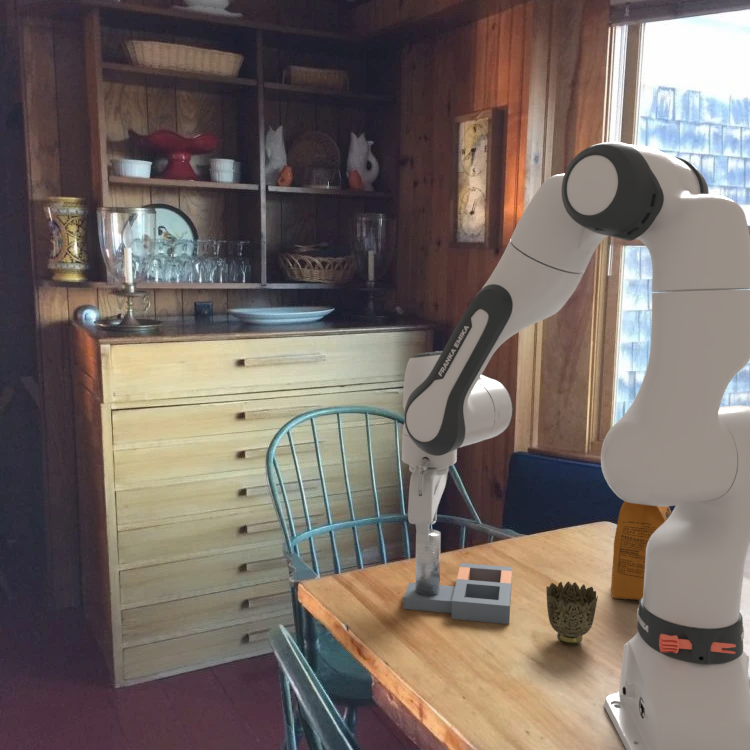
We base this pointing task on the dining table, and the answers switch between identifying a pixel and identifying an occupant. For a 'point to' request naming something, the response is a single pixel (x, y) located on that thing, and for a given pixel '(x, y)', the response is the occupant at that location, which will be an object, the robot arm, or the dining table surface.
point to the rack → (469, 595)
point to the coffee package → (633, 547)
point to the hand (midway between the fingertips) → (427, 532)
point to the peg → (428, 566)
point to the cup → (571, 611)
